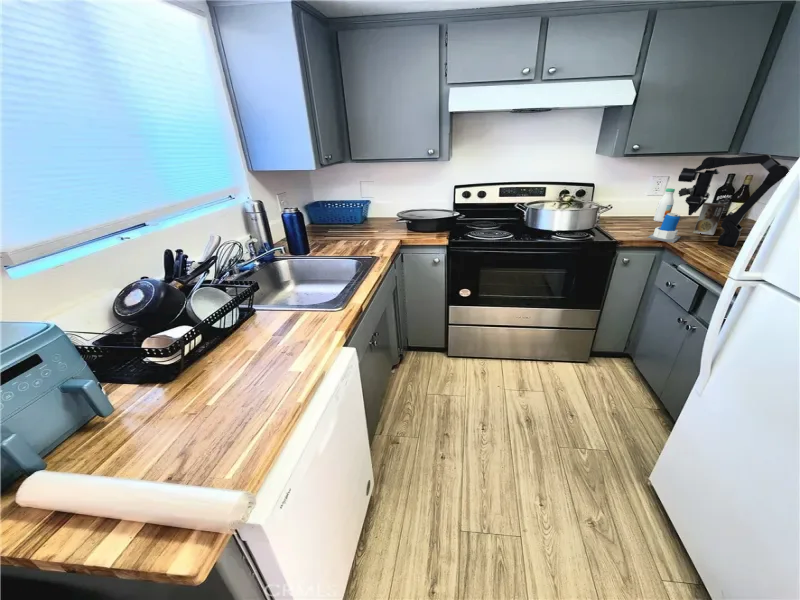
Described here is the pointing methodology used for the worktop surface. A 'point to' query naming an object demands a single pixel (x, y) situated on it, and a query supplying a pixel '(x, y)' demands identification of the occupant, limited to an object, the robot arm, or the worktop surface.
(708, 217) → the coffee box
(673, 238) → the socket
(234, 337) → the worktop surface
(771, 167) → the robot arm
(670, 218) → the beverage can
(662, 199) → the milk bottle
